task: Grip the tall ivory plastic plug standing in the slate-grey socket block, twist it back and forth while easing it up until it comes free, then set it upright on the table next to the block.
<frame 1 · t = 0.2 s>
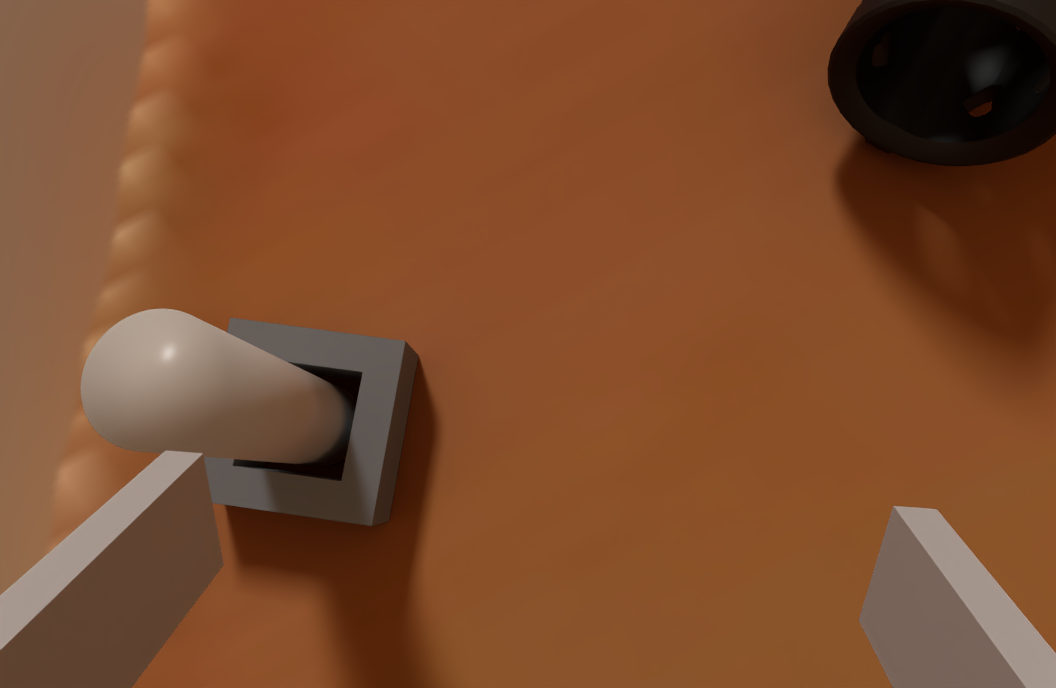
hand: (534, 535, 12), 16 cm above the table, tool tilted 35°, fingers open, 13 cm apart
plug: (262, 408, 22), in the socket block
socket block: (322, 424, 29), on the table
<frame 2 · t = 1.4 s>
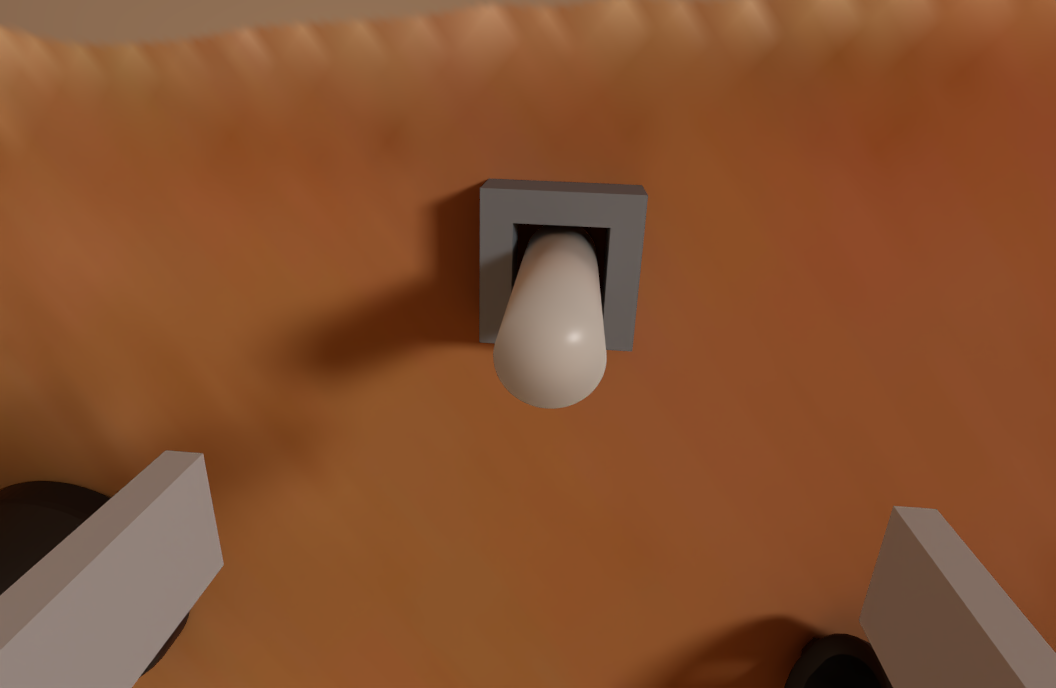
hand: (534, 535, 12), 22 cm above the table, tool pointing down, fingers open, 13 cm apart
plug: (556, 295, 26), in the socket block
socket block: (560, 256, 32), on the table
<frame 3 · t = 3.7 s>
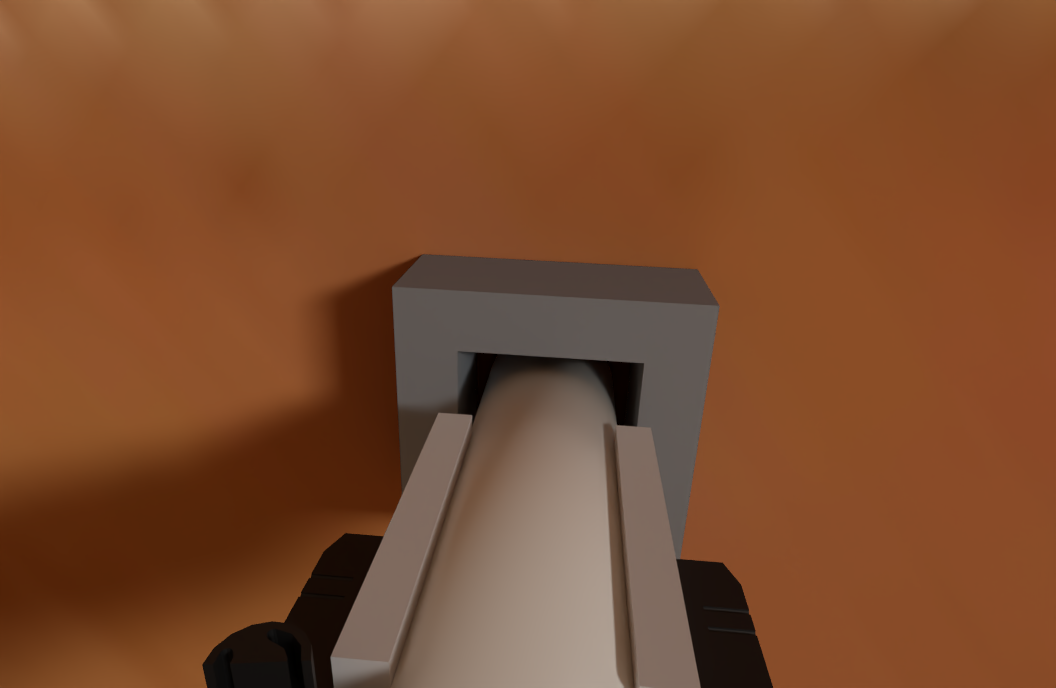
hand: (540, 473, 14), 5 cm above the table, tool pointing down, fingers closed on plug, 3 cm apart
plug: (534, 532, 13), in the socket block, touching gripper
socket block: (551, 385, 19), on the table
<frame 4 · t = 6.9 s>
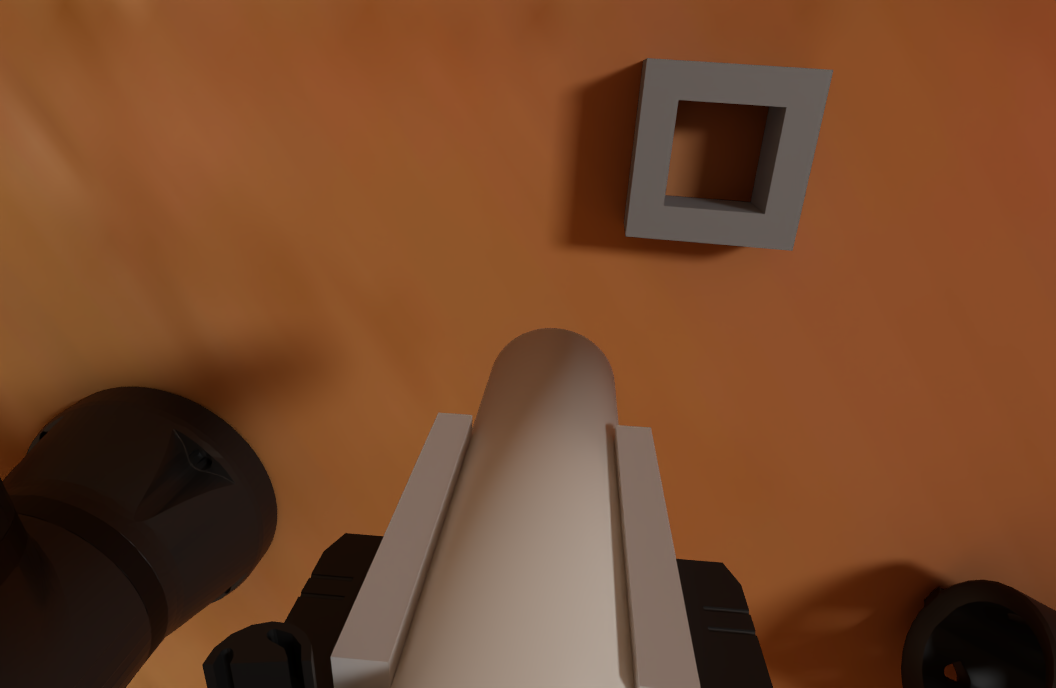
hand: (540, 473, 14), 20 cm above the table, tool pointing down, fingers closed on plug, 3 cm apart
plug: (535, 532, 12), point 22 cm above the table, touching gripper
socket block: (712, 151, 30), on the table
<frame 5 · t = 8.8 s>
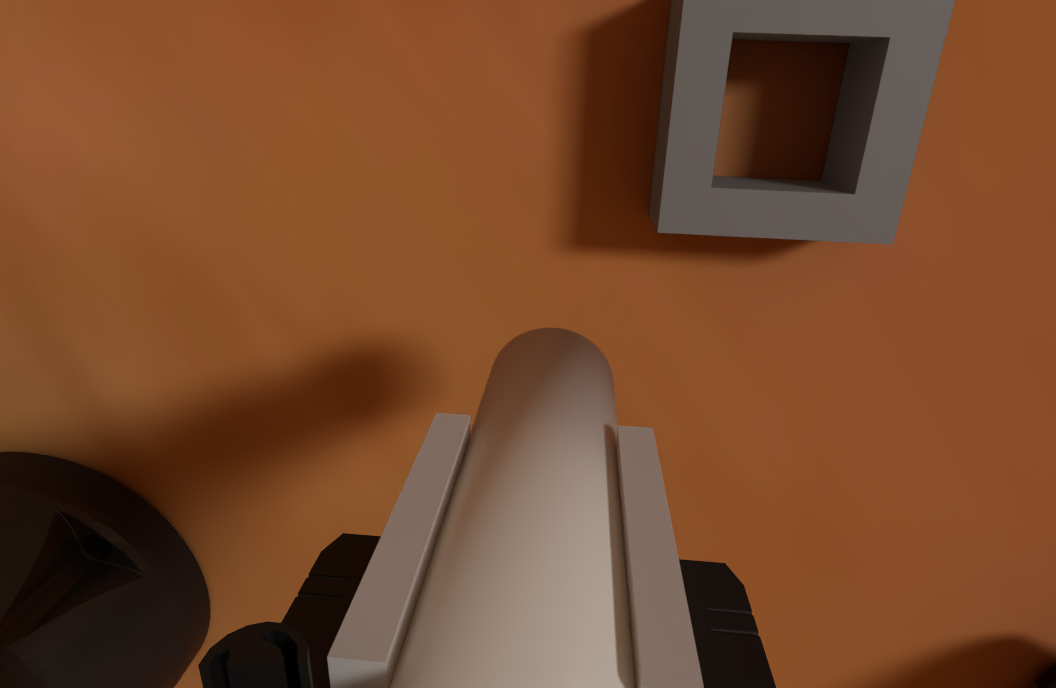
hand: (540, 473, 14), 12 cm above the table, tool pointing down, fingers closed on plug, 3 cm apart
plug: (534, 528, 13), point 14 cm above the table, touching gripper
socket block: (768, 112, 22), on the table
when the fingers open (6 cm above the table, at t = 10.1 s): plug drops 2 cm, on the table.
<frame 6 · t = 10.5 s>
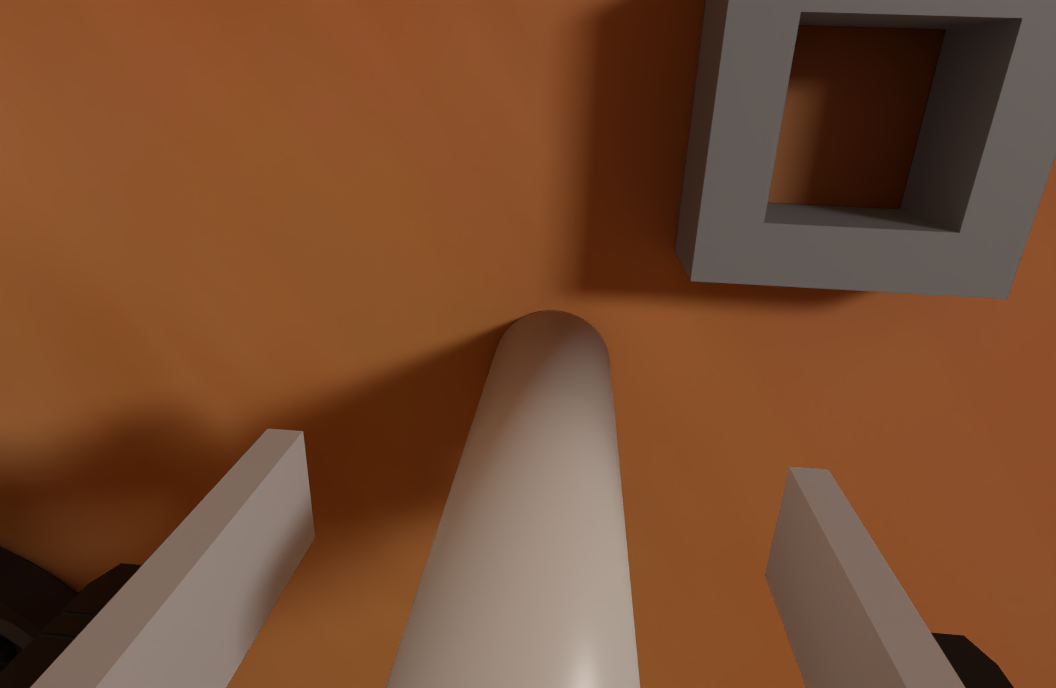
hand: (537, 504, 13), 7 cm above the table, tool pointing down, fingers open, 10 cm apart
plug: (538, 485, 14), on the table
socket block: (834, 120, 17), on the table
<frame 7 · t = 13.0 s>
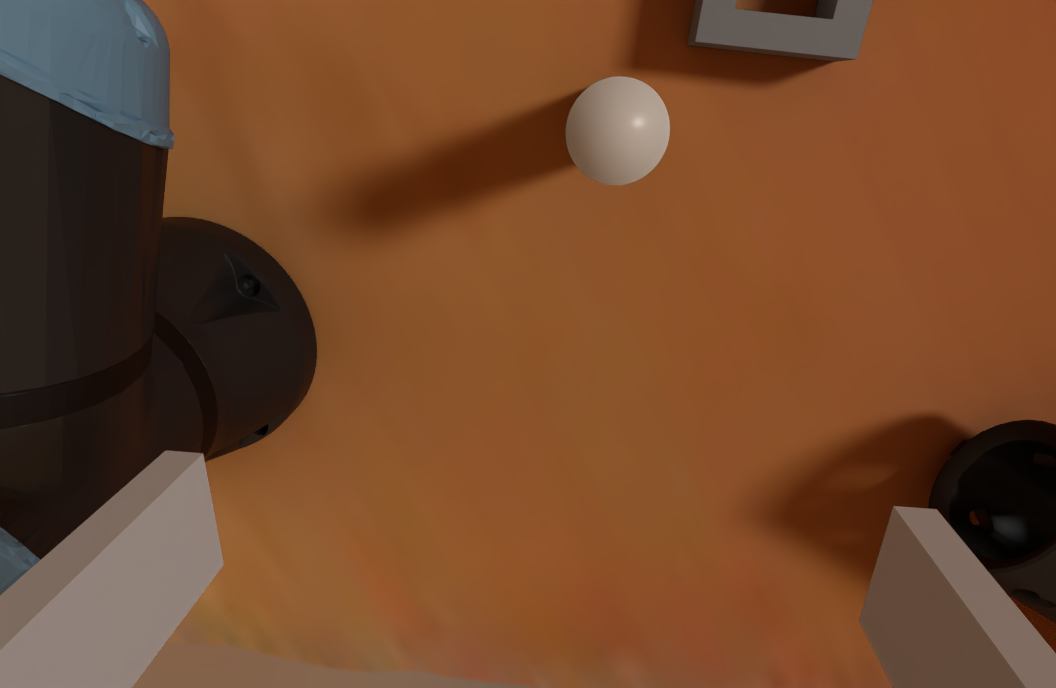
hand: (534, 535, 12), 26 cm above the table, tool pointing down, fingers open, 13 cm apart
plug: (612, 122, 28), on the table
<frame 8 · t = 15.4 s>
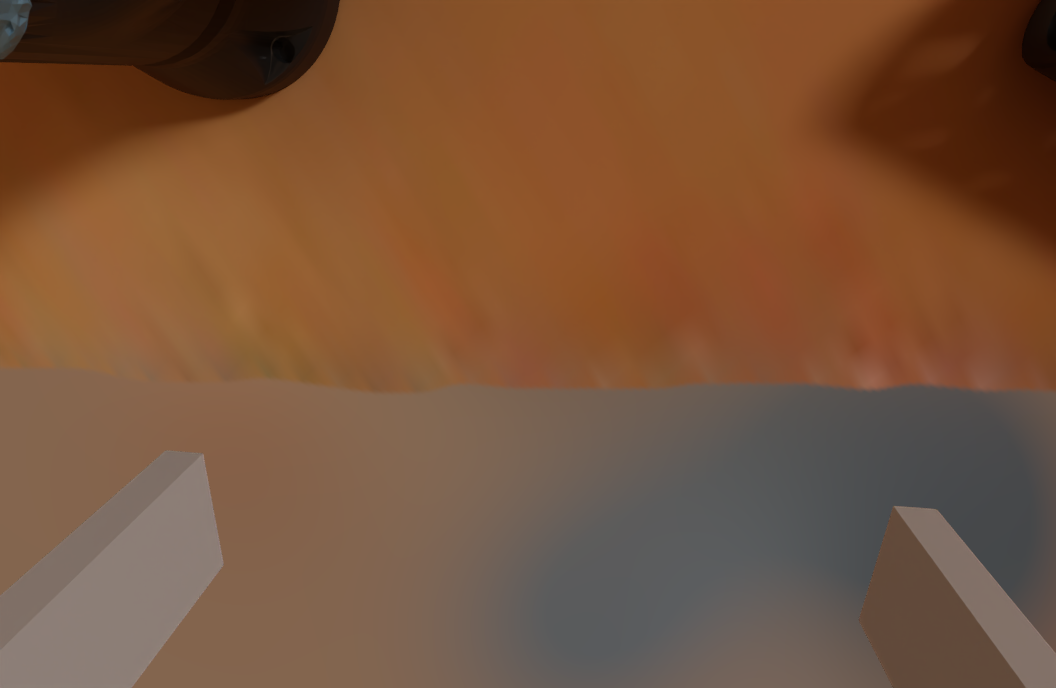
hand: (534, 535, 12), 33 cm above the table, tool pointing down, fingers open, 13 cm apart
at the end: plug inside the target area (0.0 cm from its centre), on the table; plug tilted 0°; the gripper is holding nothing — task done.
